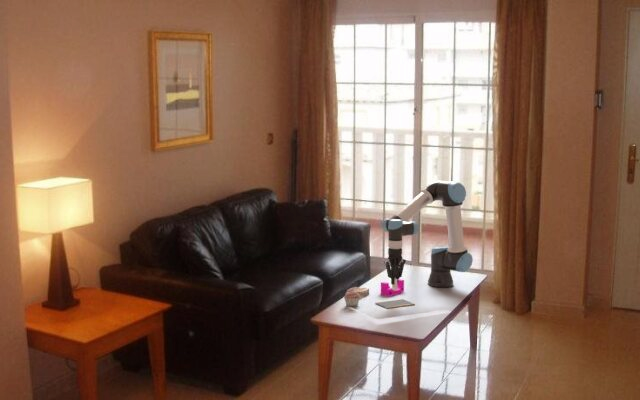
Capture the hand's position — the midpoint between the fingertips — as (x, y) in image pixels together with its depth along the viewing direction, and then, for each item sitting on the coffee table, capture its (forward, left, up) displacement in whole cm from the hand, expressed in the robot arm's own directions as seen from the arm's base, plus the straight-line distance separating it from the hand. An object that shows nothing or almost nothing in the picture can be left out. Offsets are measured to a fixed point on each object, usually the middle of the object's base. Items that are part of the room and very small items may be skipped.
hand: (394, 290), depth 429 cm
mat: (0, 0, -8) cm, 8 cm away
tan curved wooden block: (+10, -30, -6) cm, 33 cm away
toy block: (-13, -21, -9) cm, 26 cm away
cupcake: (+22, -9, -8) cm, 25 cm away
